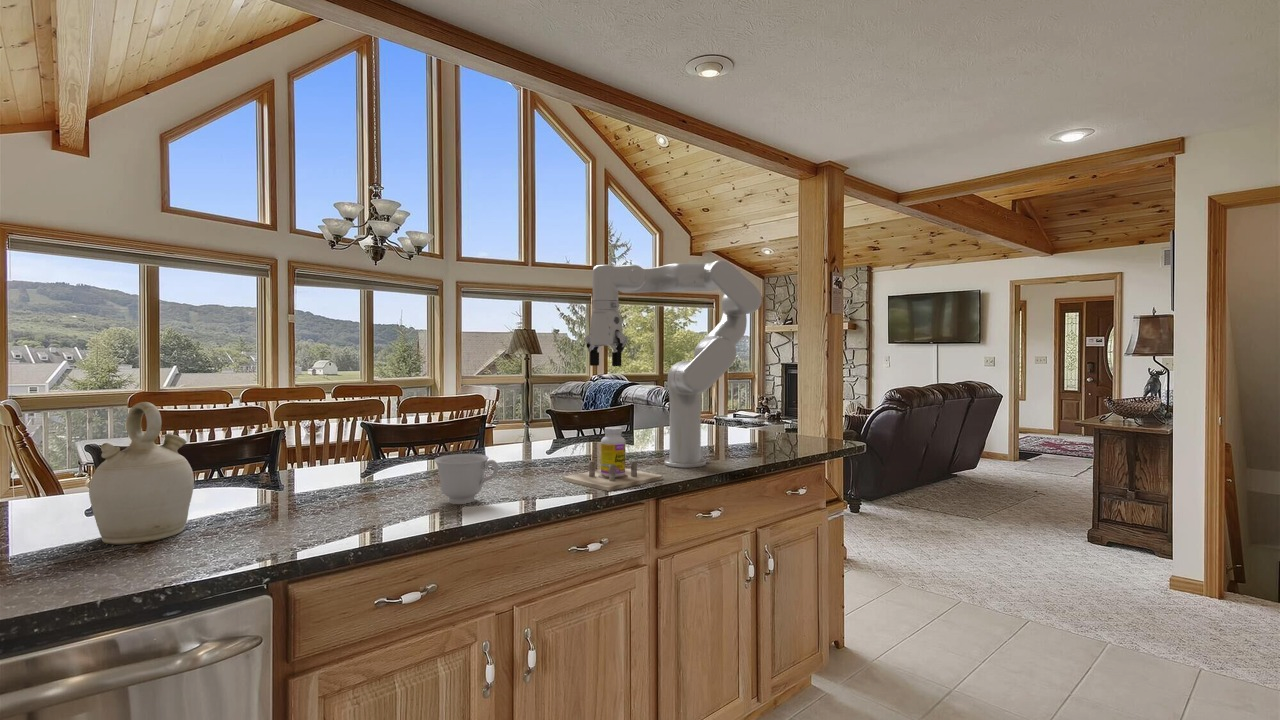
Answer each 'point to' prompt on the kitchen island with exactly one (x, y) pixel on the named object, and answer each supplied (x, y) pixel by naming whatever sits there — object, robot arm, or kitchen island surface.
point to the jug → (142, 484)
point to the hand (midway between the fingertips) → (605, 365)
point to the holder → (612, 478)
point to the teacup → (463, 475)
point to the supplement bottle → (613, 452)
